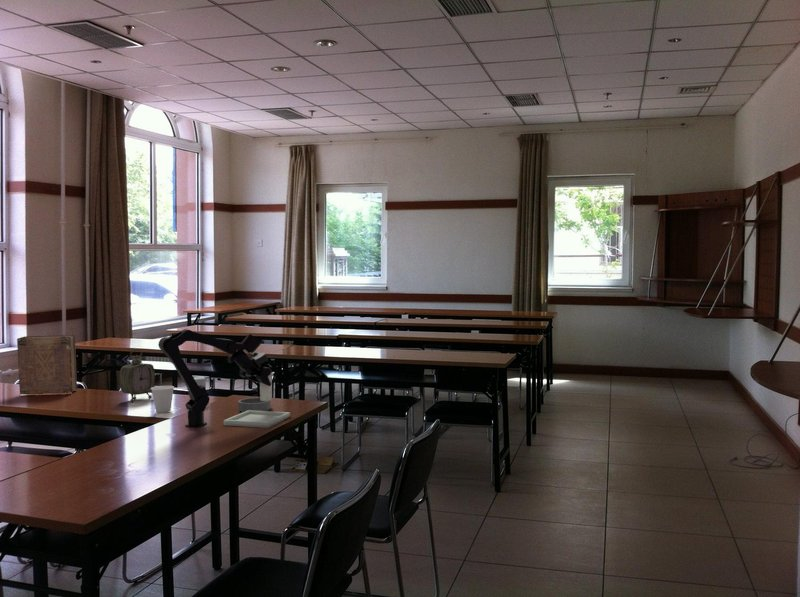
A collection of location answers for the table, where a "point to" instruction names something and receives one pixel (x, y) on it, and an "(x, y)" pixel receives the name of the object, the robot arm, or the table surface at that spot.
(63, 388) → the book
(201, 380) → the supplement box
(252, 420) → the tray
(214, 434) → the table surface
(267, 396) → the canister
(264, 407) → the collar
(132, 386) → the tabletop clock
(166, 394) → the cup
